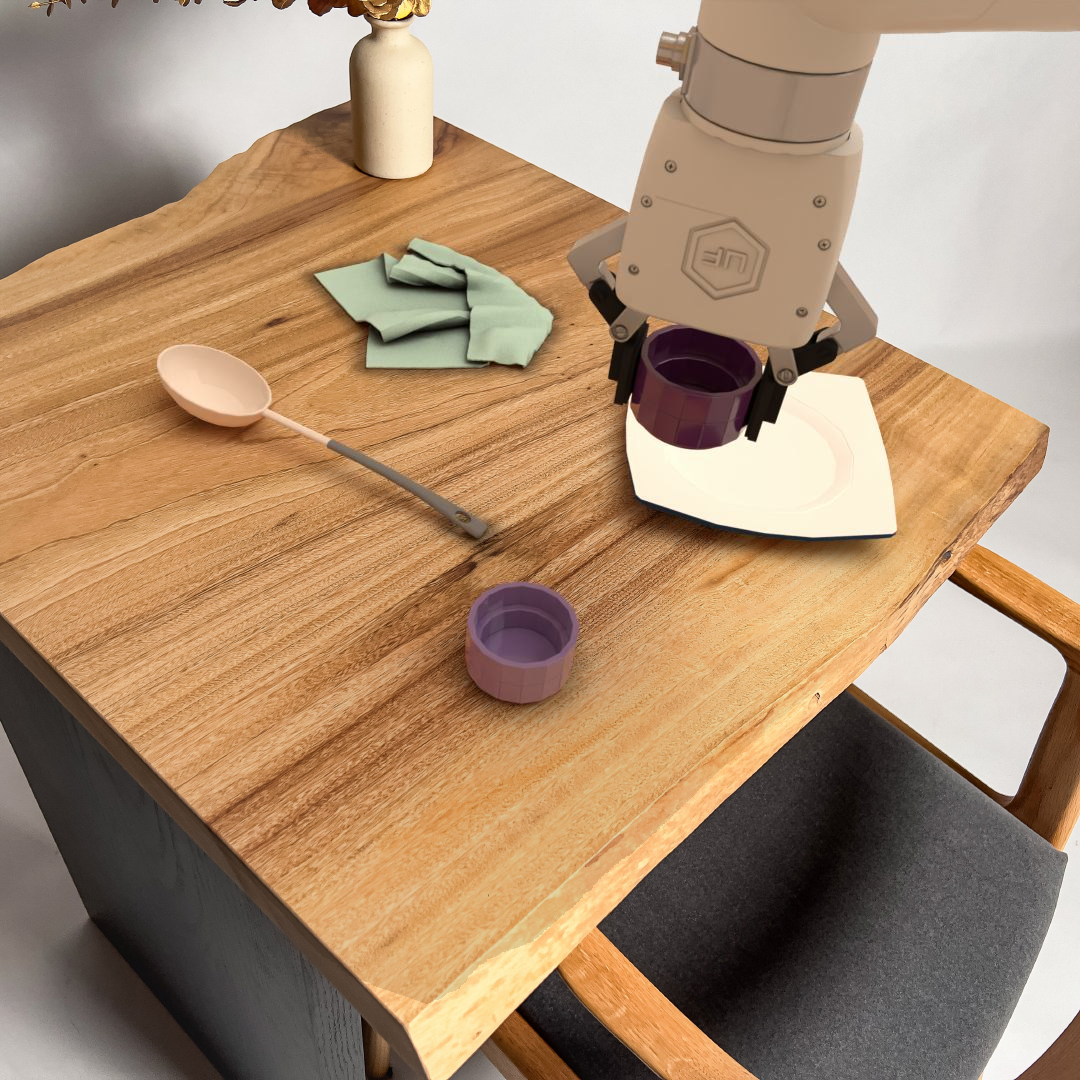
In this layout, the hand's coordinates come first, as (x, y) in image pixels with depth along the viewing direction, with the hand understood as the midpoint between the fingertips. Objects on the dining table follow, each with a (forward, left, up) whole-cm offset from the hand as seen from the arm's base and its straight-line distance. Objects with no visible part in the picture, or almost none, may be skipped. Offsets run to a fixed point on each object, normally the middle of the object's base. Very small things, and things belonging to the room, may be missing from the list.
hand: (689, 406), depth 56 cm
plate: (+6, -16, -16) cm, 24 cm away
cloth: (+36, -5, -16) cm, 40 cm away
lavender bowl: (-1, +11, -16) cm, 19 cm away
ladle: (+22, +13, -16) cm, 30 cm away
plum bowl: (0, 0, -1) cm, 1 cm away
